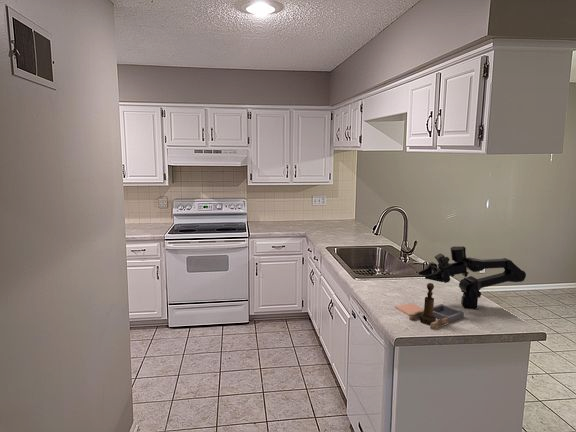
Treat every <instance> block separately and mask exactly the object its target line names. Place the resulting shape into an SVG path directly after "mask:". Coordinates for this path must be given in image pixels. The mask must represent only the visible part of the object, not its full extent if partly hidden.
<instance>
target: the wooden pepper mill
mask: <svg viewBox="0 0 576 432" xmlns="http://www.w3.org/2000/svg"><path fill="white" fill-rule="evenodd" d="M426 288H427V293H426V294H427V296H425V297H424V303H423V304H424V306H423V307H424V308H423V309H424V314H422V315H421V316H420V318H419V321H420V323H421V324H424V325H431V323H432V322H435V321H437V319H436V318H435V317H434V315H433V307H434V306H435V305H434V304H435V298H434V297H433V290H434V288H435V285H434V283H432V282H429V283H427V284H426Z"/></svg>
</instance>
